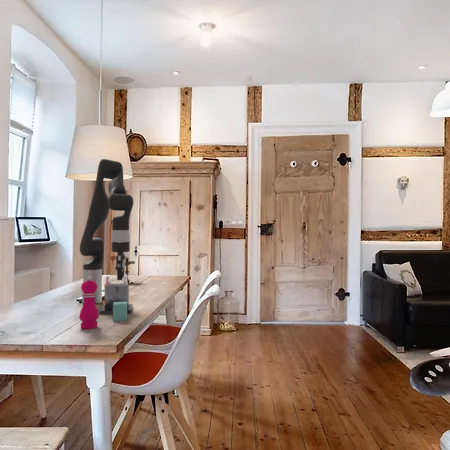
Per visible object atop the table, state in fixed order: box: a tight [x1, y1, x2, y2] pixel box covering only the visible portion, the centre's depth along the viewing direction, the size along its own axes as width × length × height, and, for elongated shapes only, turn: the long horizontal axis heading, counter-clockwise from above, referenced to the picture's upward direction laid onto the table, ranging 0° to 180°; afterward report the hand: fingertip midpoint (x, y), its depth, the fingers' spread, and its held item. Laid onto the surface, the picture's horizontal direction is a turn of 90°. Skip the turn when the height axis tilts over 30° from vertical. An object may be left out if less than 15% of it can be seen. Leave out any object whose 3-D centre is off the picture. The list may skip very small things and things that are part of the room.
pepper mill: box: [79, 276, 100, 330], centre depth 164 cm, size 7×7×20 cm
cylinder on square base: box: [98, 274, 134, 315], centre depth 195 cm, size 14×14×16 cm
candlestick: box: [124, 252, 136, 283], centre depth 284 cm, size 11×11×35 cm
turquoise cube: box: [112, 302, 128, 322], centre depth 177 cm, size 6×5×7 cm
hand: (120, 278), depth 177 cm, fingers open, 8 cm apart
